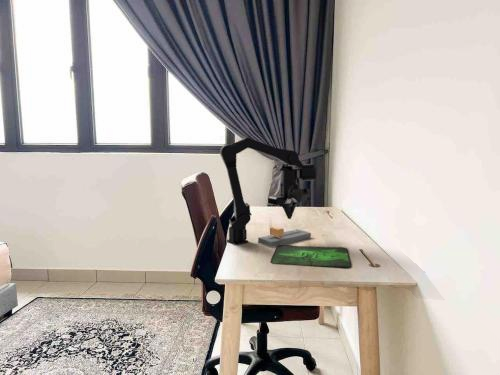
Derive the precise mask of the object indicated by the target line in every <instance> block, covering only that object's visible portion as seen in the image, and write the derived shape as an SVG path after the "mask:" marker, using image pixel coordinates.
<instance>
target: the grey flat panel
mask: <svg viewBox="0 0 500 375" xmlns="http://www.w3.org/2000/svg"><path fill="white" fill-rule="evenodd" d="M310 237H312V233H311V232H309V231H305V230H301V229H298V228H297V229H292V230H287V231H284V236H281V237H276V236H273V235H270V234H268V235H264V236H260V237H258V239H257V242H258V244H261V245H264V246H267V247H270V248H273V247H277V246H279V245H288V244H290V243H294V242H298V241H302V240H307V239H311V238H310ZM306 238H307V239H306Z"/></svg>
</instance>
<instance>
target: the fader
mask: <svg viewBox="0 0 500 375" xmlns="http://www.w3.org/2000/svg"><path fill="white" fill-rule="evenodd" d="M284 229H285V228H283V227H279V226H276V225H274V226H271V227H269V235H273V236H276V237H281V236H284V232H285V230H284Z"/></svg>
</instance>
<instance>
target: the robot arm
mask: <svg viewBox="0 0 500 375" xmlns="http://www.w3.org/2000/svg"><path fill="white" fill-rule="evenodd" d="M247 149H252V150H254V151H257V152H259V153H263V154H265V155H268V156H270V157H271V156H272V157H274V158H275V159H276V160H278V161H280V162H283V163H284V164H285V165H284V164H283V163H282V164H281V165H279V167H277V170H278V171H280V172H281V171H282V183H280V187H282V192H281V193H280V195H270V196H269V197H268V199H267V203H268V204H270V205H275V206H281V208H282V209H283V211H284V213H285V216H286V217H287V219H288V220H291V219H292V217H293V214H294V211H295V210H296V207H297V206H298V205H299V204H301V202H306V201H311V189H310V188H309V187H305V188H300V183H298V180H299V181H300V182H305V181H307V182H310V181H315V180H316V178H317V172H316V168H315V163H307V164H303V163H302V161H301V160H300V157H299V153H298V152H297V151H295V150H291V149H283V148H278V147H276V146H272V145H269V144H267V143H264V142H260V141H258V140H255V139H252V138H251V137H244V138H242V139H240V140H238V141H236V142H233V143H231V144H224V145H222V146H221V147H220V150H219V154H220V157H221V159H222V162H223V164H224V166H225V169H226V172H227V177H228V181H229V185H230V189H231V194H232V199H233V215H232V216H231V217H230V218H229V220H228V222H229V224H230V226H229V227H228V239H227V240H226V242H227V243H230V244H233V245H240V244H241V245H242V244H246V243H249V240H248V239H247V235H248V234H247V232H248V231H247V224H249V222H250V221H251V216H252V213H251V206H250V204H249V203H248V202H245V201H244V196H243V192H242V187H241V182H240V178H239V173H238V169H237V159H238V158H237V154H240V153H241V152H243V151H245V150H247ZM294 167H295V168H294Z"/></svg>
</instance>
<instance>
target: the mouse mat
mask: <svg viewBox="0 0 500 375" xmlns="http://www.w3.org/2000/svg"><path fill="white" fill-rule="evenodd" d="M269 262H270V264H272V265H281V266H282V265H283V266H298V267H299V266H300V267H301V266H302V267H316V268H317V267H318V268H341V269H342V268H344V269H349V268H351V267H352V261H351V257H350V253H349V248H347V247H342V246H337V247H336V246H310V245H309V246H307V245H291V244H283V245H279V246H278V247H277V246H275V248H274V251H273V254H272V256H271V259H270V261H269Z"/></svg>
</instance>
